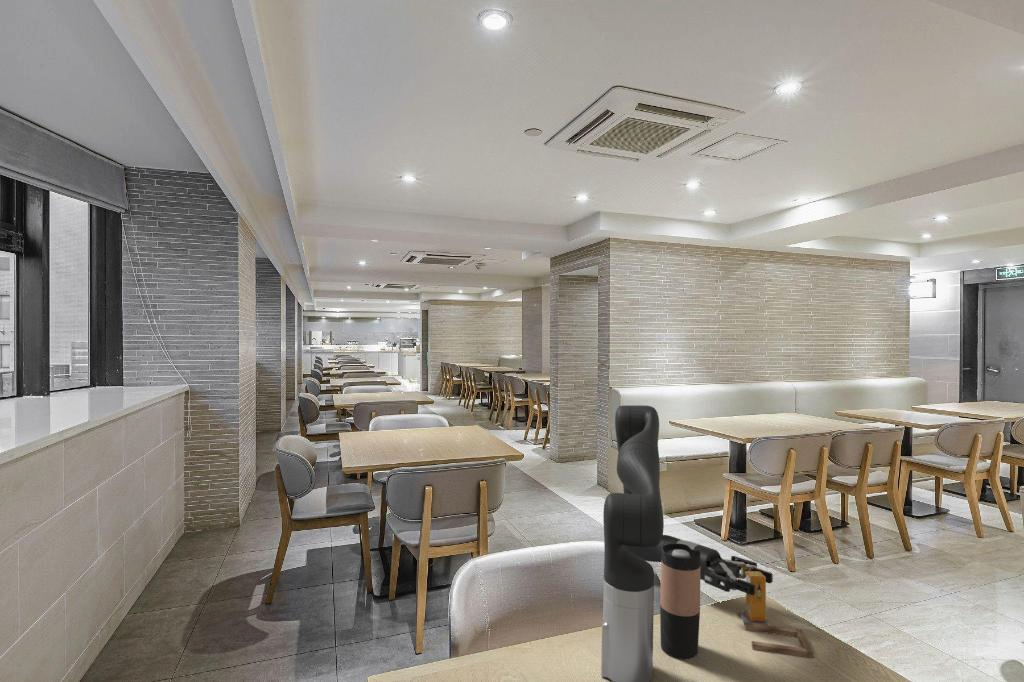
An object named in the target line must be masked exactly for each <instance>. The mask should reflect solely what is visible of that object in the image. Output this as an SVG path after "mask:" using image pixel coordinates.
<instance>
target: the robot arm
mask: <svg viewBox="0 0 1024 682" xmlns="http://www.w3.org/2000/svg"><path fill="white" fill-rule="evenodd" d="M614 418H615V419H614V428H615V429H614V430H615V439H616V445H617V452H618V453H617V461H616V474H617V477H618V478H619V480H620V482H621V483H622V485H623V487H622V488H623V493H622V492H611V493H609V494H608V495H607V496H606V497H605V499H604V505H603V513H602V514H603V537H604V538H603V542H604V544H603V545H604V556H603V557H604V560H603V561H604V564H603V567H604V568H603V600H602V601H603V606H602V607H603V608H602V610H603V611H602V613H603V614H602V623H601V661H600V663H601V664H600V665H601V667H600V675H601V678H607V679H609V680H611V682H650V681H651V680H652V678H653V666H654V665H653V664H654V661H653V660H654V659H653V658H654V611H655V610H654V609H655V607H654V604H655V569H654V567H653V566H652V565H651V562H653V563H661V559H662V547H663V546H664V545H667V544H672V543H678V544H685V545H688V546H689V547H690V548H691V549H692V550H695V551H697V550H699V551H700V555H701V563H700V581H701V580H702V581H704V583H705V584H707V585H710V586H713V587H715V588H716V589H720V590H722V591H723V592H725V593H726V592H728V593H729V592H731V590H732V591H740V592H741V593H745V594H746V593H747V594H750V595H754V594H755V593H756V586H755V585H754V584H752V583H749V582H746V571H760V572H761V573H762V574H763V575H764V576H765V577H766V584H772V583H773V580H774V579H773V578H774V576H773V573H772V572H769V571H766V570H763V569H760V568H758V563H757V562H755V561H752V560H749V559H745V558H743V557H739V556H736V555H731V556H730V557H731V558H730V559H724V558H722V556H721V554H720V552H719V551H718V550H716V549H714V548H711V547H708V546H705V545H702V544H699V543H697V542H694V541H693V542H692V541H691V540H684V539H681V538H677V537H675V536H672V535H668V534H664V527H665V523H664V522H665V521H664V511H663V504H662V497H661V490H660V475H661V471H660V470H661V469H660V468H661V467H660V454H659V434H660V418H659V413H658V411H657V409H656V408H655V407H653V406H651V405H641V404H640V405H630V404H629V405H619V406H618V407H617V408H616V410H615V414H614ZM744 579H745V580H744ZM721 583H722V584H721Z"/></svg>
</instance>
